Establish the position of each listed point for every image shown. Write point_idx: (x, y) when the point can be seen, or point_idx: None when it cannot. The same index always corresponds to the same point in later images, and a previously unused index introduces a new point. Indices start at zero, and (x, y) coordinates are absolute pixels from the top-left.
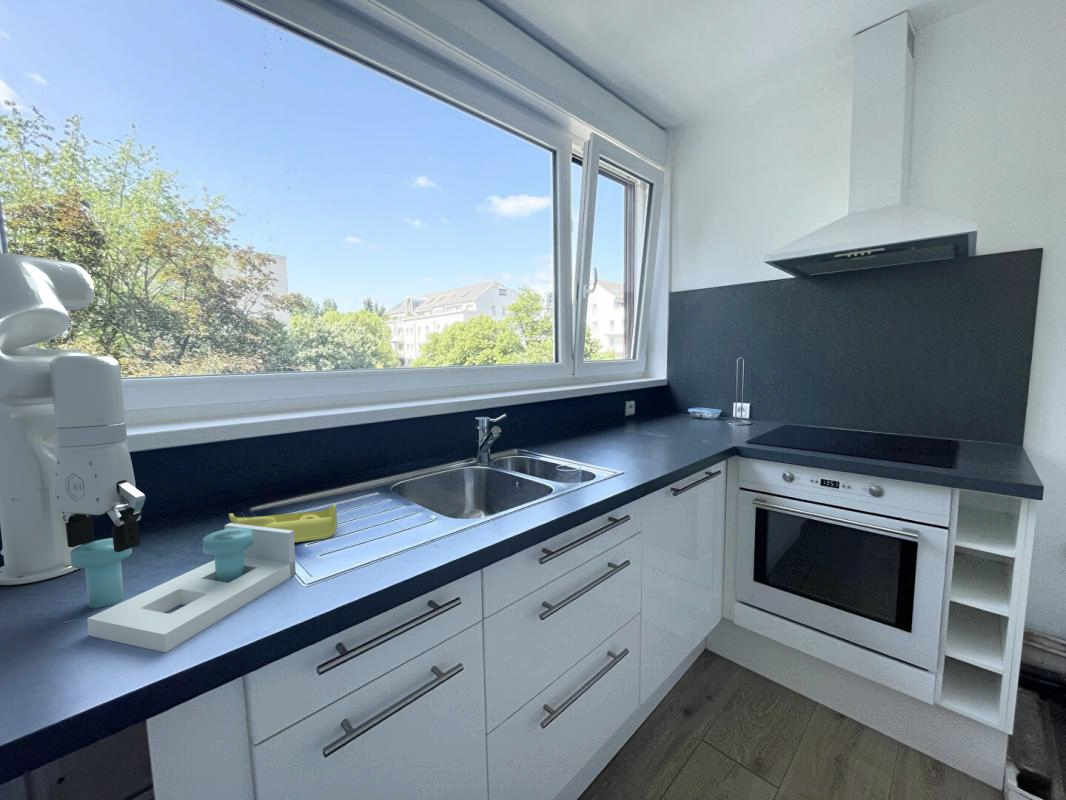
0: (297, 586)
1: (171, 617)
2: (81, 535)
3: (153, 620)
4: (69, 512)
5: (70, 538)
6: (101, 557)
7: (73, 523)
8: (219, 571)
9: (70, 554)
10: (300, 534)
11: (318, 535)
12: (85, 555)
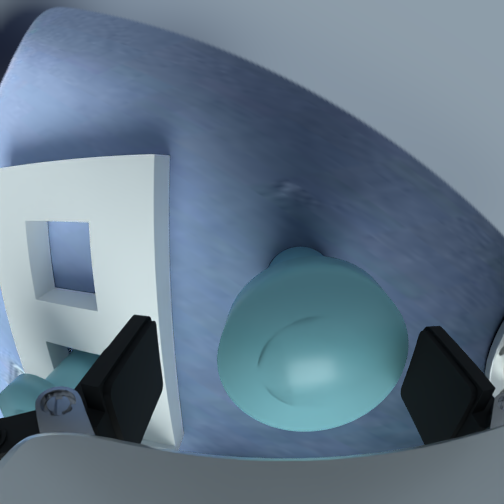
0: (20, 363)
1: (15, 212)
2: (425, 380)
3: (27, 193)
4: (456, 439)
5: (441, 347)
6: (235, 305)
7: (465, 402)
8: (66, 365)
9: (370, 283)
10: None
11: None
12: (275, 282)
